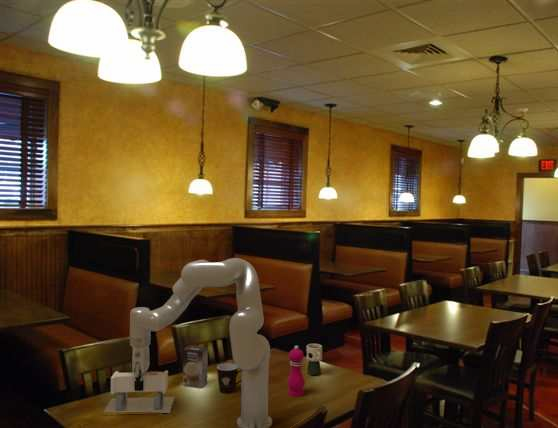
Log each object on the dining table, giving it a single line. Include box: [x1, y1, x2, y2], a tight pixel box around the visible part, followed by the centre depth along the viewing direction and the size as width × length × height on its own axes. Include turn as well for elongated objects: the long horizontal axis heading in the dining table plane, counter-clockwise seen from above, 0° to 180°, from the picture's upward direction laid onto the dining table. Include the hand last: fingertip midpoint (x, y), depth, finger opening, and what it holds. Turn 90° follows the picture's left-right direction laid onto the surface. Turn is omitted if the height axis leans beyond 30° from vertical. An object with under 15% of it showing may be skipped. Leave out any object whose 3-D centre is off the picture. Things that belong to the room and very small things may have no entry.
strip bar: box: [110, 370, 169, 395], centre depth 189 cm, size 7×20×7 cm, turn 95°
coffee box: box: [182, 344, 209, 389], centre depth 213 cm, size 9×6×16 cm
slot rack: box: [103, 391, 175, 414], centre depth 189 cm, size 12×24×6 cm, turn 95°
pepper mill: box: [286, 345, 306, 397], centre depth 204 cm, size 7×7×20 cm
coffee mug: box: [216, 362, 242, 395], centre depth 206 cm, size 12×9×10 cm
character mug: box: [306, 343, 323, 376], centre depth 227 cm, size 11×7×13 cm, turn 24°
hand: (140, 387), depth 189 cm, fingers closed on strip bar, 4 cm apart
